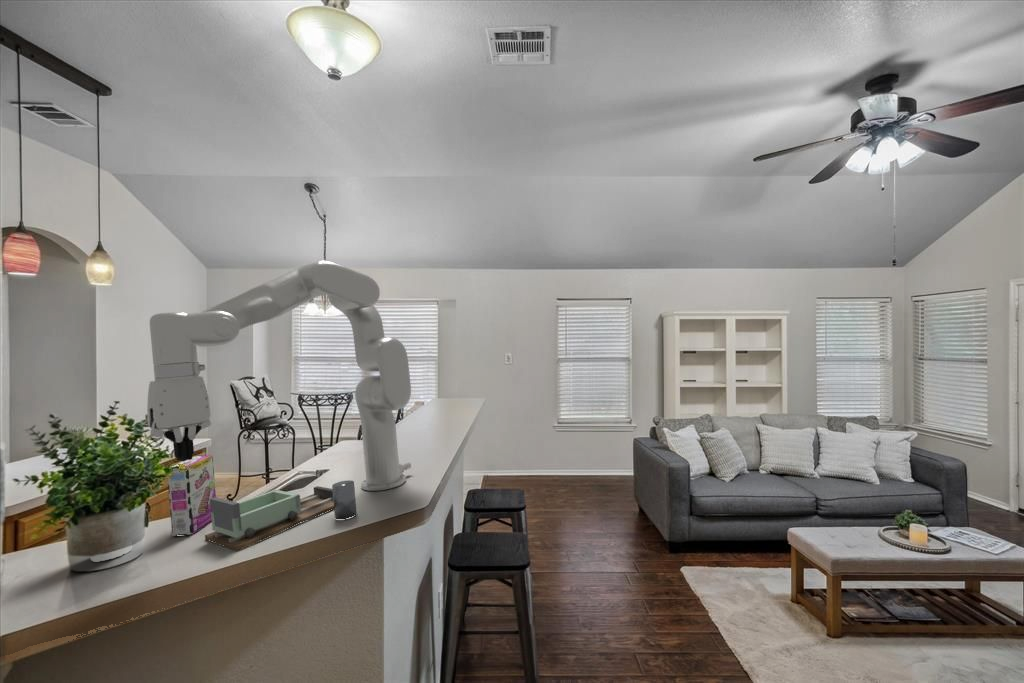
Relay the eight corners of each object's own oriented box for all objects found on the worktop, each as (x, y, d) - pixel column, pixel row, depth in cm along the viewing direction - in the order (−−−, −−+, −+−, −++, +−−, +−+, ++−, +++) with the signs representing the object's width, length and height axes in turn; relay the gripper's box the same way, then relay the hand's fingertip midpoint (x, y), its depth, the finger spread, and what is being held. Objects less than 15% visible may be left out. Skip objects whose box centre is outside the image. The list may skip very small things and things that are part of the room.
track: (315, 497, 130) (313, 485, 130) (347, 503, 122) (346, 490, 122) (205, 539, 106) (203, 524, 106) (237, 551, 99) (236, 535, 99)
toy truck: (274, 508, 119) (272, 477, 119) (304, 515, 113) (301, 482, 112) (210, 532, 107) (207, 498, 106) (239, 542, 100) (235, 505, 100)
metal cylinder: (347, 511, 117) (345, 479, 117) (361, 514, 114) (358, 481, 114) (330, 518, 113) (327, 486, 113) (344, 522, 110) (341, 488, 110)
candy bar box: (194, 535, 109) (187, 466, 109) (171, 538, 109) (164, 468, 109) (219, 516, 121) (213, 453, 120) (199, 519, 120) (193, 455, 120)
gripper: (207, 368, 106) (214, 449, 106) (125, 376, 93) (133, 468, 93) (223, 368, 102) (231, 452, 102) (141, 376, 89) (149, 472, 89)
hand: (184, 459), depth 98 cm, fingers closed
